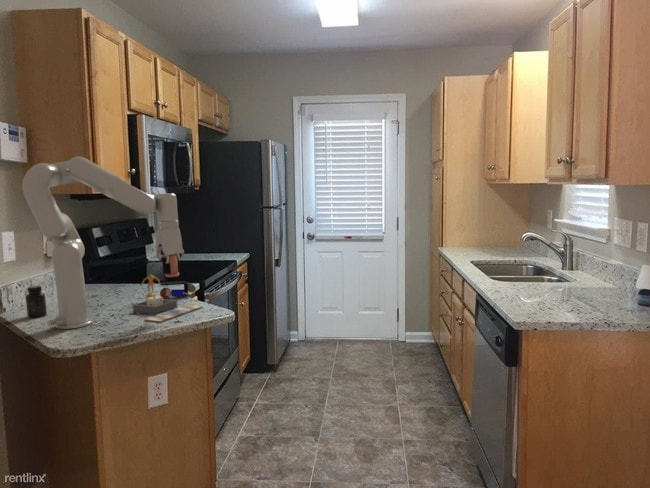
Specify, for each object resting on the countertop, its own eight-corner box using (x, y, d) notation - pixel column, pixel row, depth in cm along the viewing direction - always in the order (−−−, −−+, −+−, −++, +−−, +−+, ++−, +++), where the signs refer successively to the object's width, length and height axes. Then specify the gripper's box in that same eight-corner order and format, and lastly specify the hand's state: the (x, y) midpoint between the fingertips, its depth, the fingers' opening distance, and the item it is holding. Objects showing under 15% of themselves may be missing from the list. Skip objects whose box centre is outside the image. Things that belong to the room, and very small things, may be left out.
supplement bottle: (30, 315, 213) (27, 286, 211) (49, 313, 214) (46, 284, 213) (25, 319, 206) (22, 289, 205) (44, 317, 208) (41, 287, 206)
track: (160, 322, 193) (160, 321, 193) (144, 320, 196) (144, 319, 196) (202, 307, 214) (202, 306, 214) (187, 306, 218) (187, 304, 218)
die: (155, 310, 210) (154, 298, 210) (146, 309, 212) (145, 298, 212) (164, 307, 215) (163, 296, 214) (155, 306, 217) (154, 295, 216)
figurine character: (192, 296, 243) (158, 297, 236) (193, 280, 243) (159, 280, 236) (195, 299, 237) (160, 300, 230) (196, 282, 237) (161, 283, 230)
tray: (155, 314, 206) (155, 307, 205) (133, 312, 211) (133, 304, 211) (177, 307, 216) (176, 300, 216) (155, 305, 222) (154, 298, 221)
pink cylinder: (172, 277, 200) (170, 248, 199) (162, 276, 202) (160, 248, 201) (182, 274, 205) (180, 246, 203) (171, 274, 207) (169, 246, 206)
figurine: (140, 303, 226) (137, 276, 225) (144, 300, 232) (142, 273, 231) (159, 302, 226) (157, 275, 225) (163, 299, 232) (161, 272, 231)
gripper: (176, 223, 210) (179, 268, 212) (144, 227, 195) (148, 275, 197) (190, 223, 207) (193, 269, 209) (159, 227, 192) (163, 276, 194)
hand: (171, 271), depth 203 cm, fingers closed on pink cylinder, 4 cm apart
